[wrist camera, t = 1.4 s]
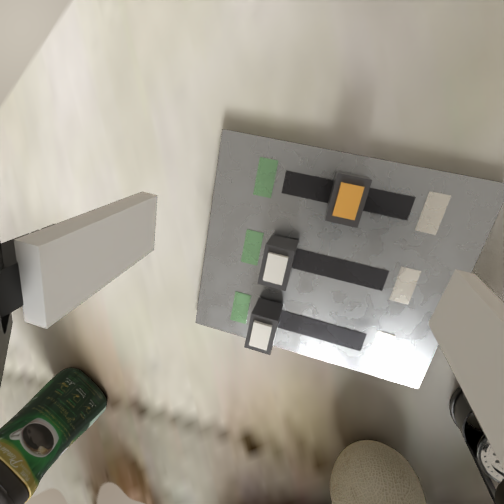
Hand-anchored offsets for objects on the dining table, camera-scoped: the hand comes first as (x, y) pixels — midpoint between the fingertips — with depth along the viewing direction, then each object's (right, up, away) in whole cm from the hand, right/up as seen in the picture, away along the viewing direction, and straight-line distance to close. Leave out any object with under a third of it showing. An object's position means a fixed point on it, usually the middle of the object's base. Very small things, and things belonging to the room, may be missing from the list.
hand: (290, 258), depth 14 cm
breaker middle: (+2, 0, +22) cm, 22 cm away
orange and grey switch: (+8, +6, +19) cm, 21 cm away
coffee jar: (-29, -23, +39) cm, 54 cm away
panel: (+7, -1, +23) cm, 24 cm away
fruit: (+15, -27, +29) cm, 42 cm away
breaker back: (0, -8, +25) cm, 26 cm away
